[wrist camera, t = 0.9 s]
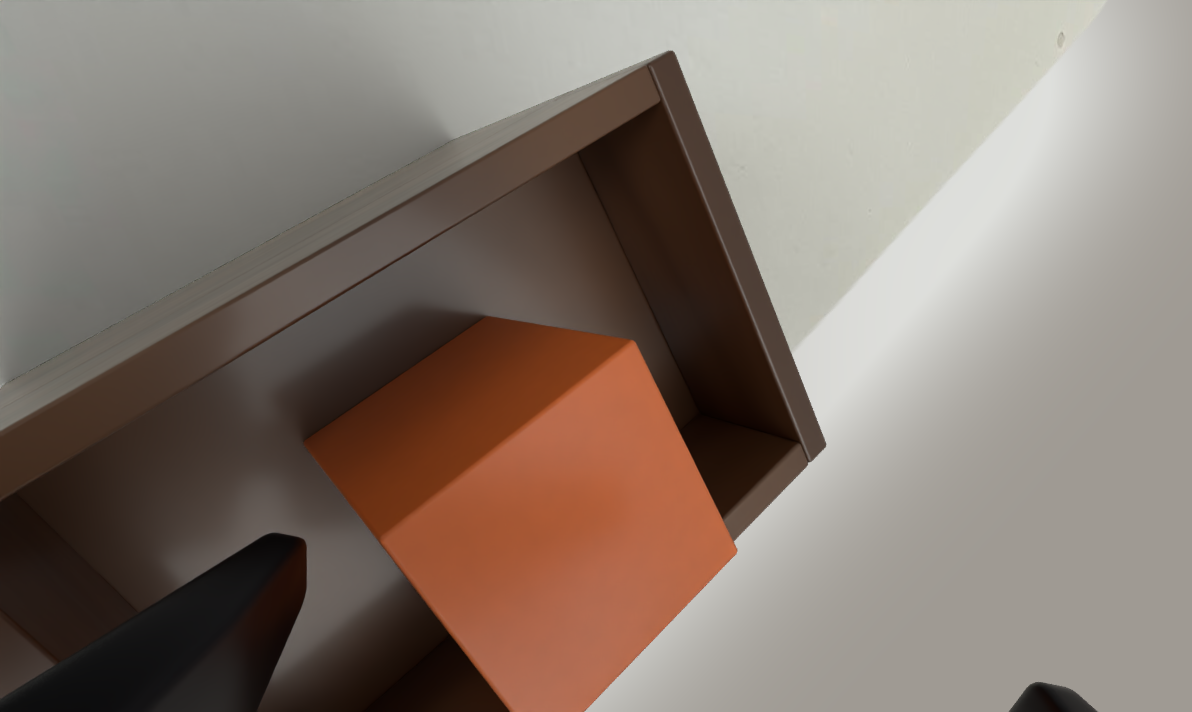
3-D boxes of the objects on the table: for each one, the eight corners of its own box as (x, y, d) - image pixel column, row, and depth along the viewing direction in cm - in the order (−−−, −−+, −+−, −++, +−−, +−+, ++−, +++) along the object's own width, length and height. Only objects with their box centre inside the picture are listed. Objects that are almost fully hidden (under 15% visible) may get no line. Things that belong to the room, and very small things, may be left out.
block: (424, 602, 15) (544, 755, 10) (301, 441, 13) (377, 540, 8) (578, 471, 17) (740, 552, 12) (487, 314, 15) (635, 337, 10)
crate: (247, 642, 20) (322, 967, 11) (3, 385, 16) (-200, 544, 7) (584, 378, 25) (829, 446, 16) (455, 138, 22) (675, 47, 12)
